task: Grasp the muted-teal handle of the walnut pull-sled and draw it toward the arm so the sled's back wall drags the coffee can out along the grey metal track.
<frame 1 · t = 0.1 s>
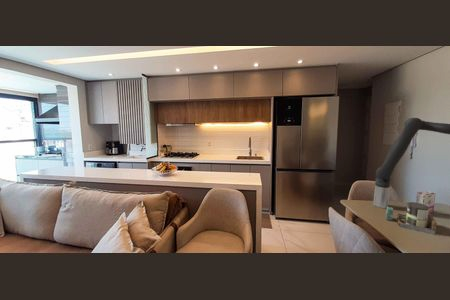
candy bar box: (423, 213, 145), on the table
sled: (408, 217, 131), point 4 cm above the table, slide at 0.0 cm
coffee can: (415, 225, 129), resting in sled
track: (412, 224, 130), on the table
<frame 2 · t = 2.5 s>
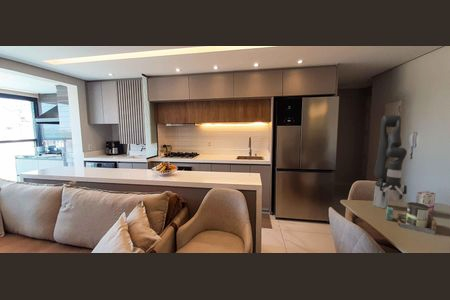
hand: (391, 197, 135), 16 cm above the table, fingers open, 8 cm apart
nothing on the table moved.
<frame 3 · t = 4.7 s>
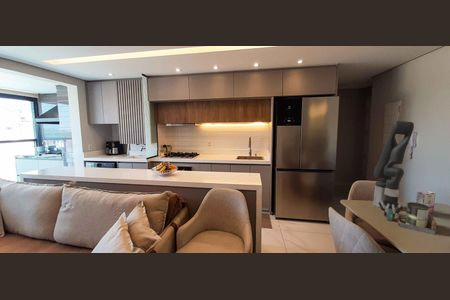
hand: (389, 217, 137), 2 cm above the table, fingers closed on sled, 3 cm apart
sled: (408, 217, 131), point 4 cm above the table, slide at 0.0 cm, touching gripper
everything else where it was.
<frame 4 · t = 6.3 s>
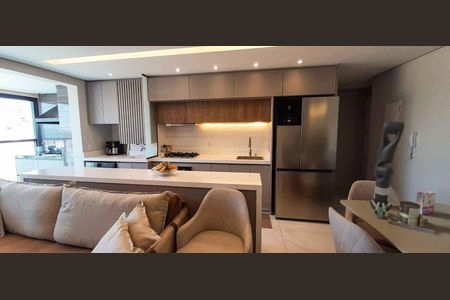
hand: (379, 215, 140), 2 cm above the table, fingers closed on sled, 3 cm apart
sled: (398, 215, 134), point 4 cm above the table, slide at 5.4 cm, touching coffee can, gripper
coffee can: (407, 223, 131), resting in sled
everything else where it was.
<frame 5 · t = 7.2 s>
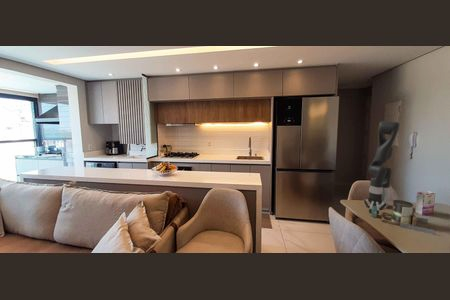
hand: (373, 213, 142), 2 cm above the table, fingers closed on sled, 3 cm apart
sled: (391, 214, 136), point 4 cm above the table, slide at 8.8 cm, touching coffee can, gripper
coffee can: (400, 221, 133), resting in sled
everything else where it was.
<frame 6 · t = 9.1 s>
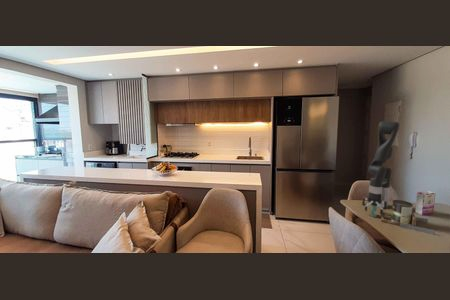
hand: (373, 212, 142), 3 cm above the table, fingers open, 8 cm apart
sled: (391, 213, 136), point 4 cm above the table, slide at 9.0 cm
coffee can: (400, 221, 133), resting in sled
everything else where it was.
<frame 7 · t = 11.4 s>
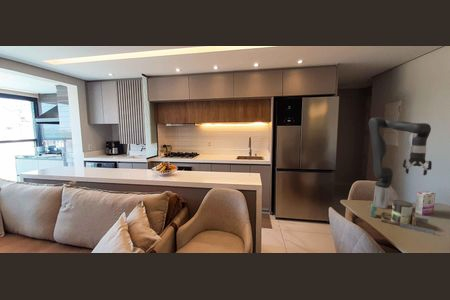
hand: (415, 174, 134), 33 cm above the table, fingers open, 8 cm apart
nothing on the table moved.
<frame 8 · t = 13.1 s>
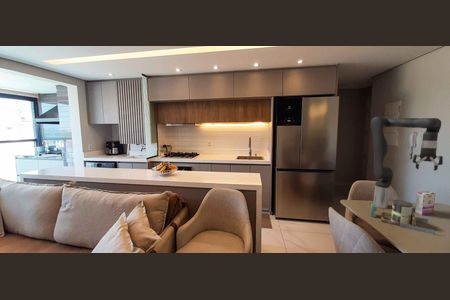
hand: (426, 169, 133), 36 cm above the table, fingers open, 8 cm apart
nothing on the table moved.
at the end: coffee can inside the target area (1.1 cm from its centre), resting in sled; coffee can tilted 0°; sled slide at 9.0 cm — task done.
